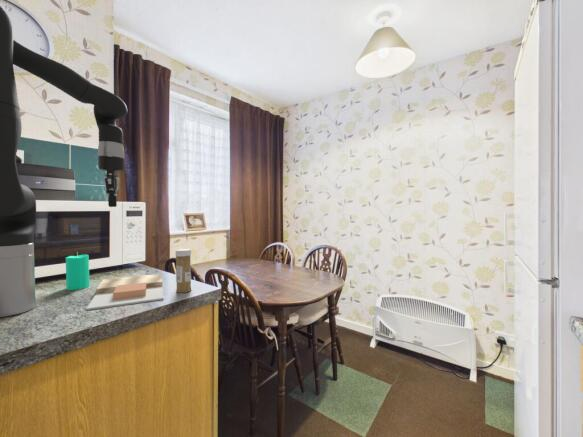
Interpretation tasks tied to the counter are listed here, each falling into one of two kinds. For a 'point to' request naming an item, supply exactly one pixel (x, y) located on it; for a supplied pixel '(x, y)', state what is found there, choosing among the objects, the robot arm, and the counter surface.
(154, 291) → the mat
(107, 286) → the deck
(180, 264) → the sprinkles bottle
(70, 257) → the candle
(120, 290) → the tile
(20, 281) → the robot arm
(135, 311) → the counter surface
